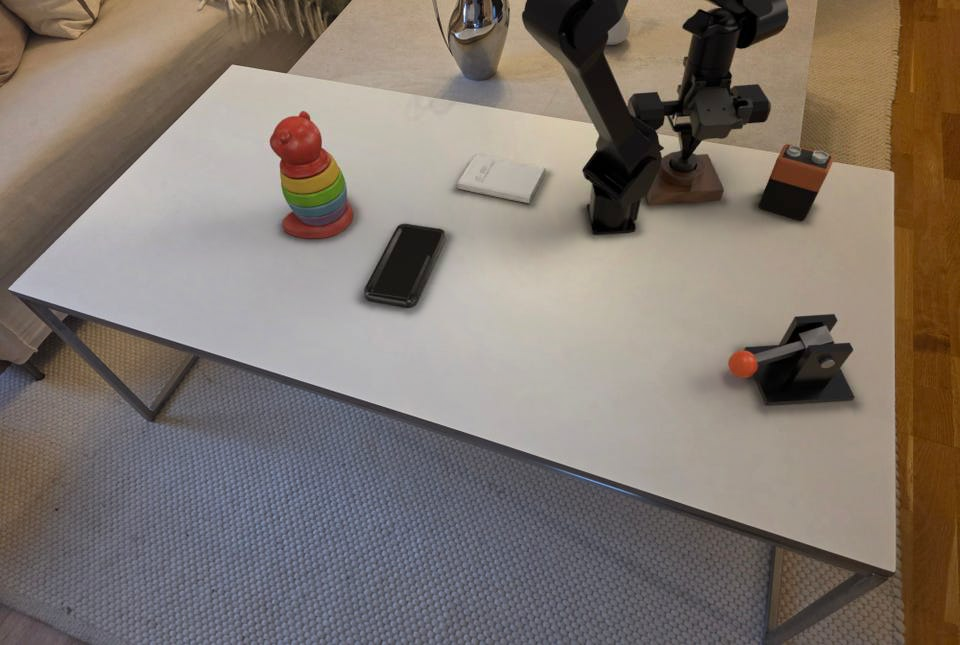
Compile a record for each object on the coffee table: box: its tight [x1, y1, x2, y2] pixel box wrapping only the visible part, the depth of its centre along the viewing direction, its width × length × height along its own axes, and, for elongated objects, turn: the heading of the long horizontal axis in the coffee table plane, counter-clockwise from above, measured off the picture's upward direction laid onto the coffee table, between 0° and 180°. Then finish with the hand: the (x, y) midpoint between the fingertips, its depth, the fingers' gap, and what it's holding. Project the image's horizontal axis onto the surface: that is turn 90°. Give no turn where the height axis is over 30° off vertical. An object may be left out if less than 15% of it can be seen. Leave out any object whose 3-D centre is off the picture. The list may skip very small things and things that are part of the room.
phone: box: [363, 223, 447, 308], centre depth 86 cm, size 8×1×15 cm
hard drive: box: [457, 154, 546, 204], centre depth 97 cm, size 2×8×12 cm
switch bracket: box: [743, 313, 856, 407], centre depth 67 cm, size 10×8×9 cm
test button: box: [670, 150, 697, 173], centre depth 91 cm, size 4×4×2 cm
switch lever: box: [727, 326, 835, 379], centre depth 67 cm, size 11×3×3 cm, turn 93°
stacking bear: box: [269, 110, 354, 239], centre depth 87 cm, size 11×10×18 cm
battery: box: [758, 143, 835, 221], centre depth 85 cm, size 4×7×10 cm, turn 58°
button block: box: [646, 151, 725, 206], centre depth 92 cm, size 11×9×4 cm
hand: (684, 157), depth 90 cm, fingers closed, pressing on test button
